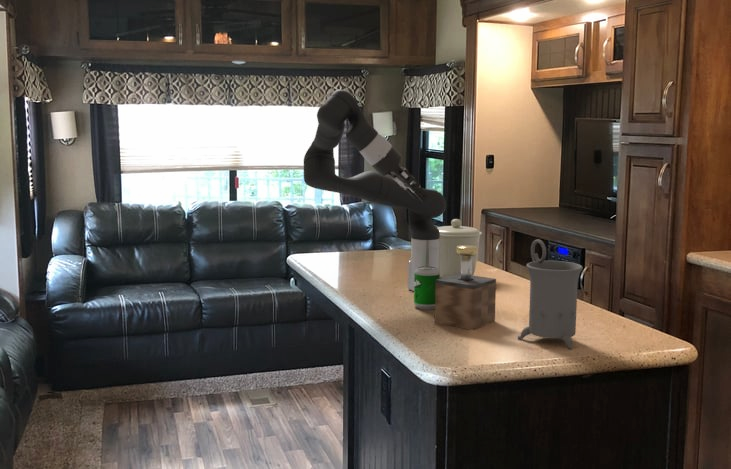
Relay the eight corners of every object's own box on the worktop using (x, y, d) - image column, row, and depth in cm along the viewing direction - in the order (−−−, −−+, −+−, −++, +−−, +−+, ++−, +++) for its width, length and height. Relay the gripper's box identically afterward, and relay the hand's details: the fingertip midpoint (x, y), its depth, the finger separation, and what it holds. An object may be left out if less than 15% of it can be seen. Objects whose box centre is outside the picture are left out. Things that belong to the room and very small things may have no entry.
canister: (422, 280, 274) (423, 220, 271) (437, 271, 290) (438, 215, 287) (473, 284, 267) (475, 223, 264) (485, 275, 284) (487, 217, 281)
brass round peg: (451, 290, 215) (452, 247, 213) (462, 287, 219) (463, 244, 218) (469, 293, 212) (470, 249, 210) (479, 289, 216) (481, 246, 214)
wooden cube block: (434, 322, 216) (435, 279, 214) (457, 314, 225) (458, 273, 224) (472, 330, 209) (474, 285, 207) (494, 321, 218) (496, 278, 216)
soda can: (441, 305, 236) (442, 266, 235) (435, 311, 229) (436, 270, 228) (417, 303, 239) (418, 264, 237) (410, 309, 232) (411, 269, 230)
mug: (596, 346, 194) (601, 246, 190) (546, 352, 188) (550, 250, 185) (552, 328, 211) (556, 236, 207) (504, 333, 206) (507, 239, 202)
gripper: (365, 163, 213) (406, 205, 216) (376, 166, 199) (420, 211, 202) (384, 143, 213) (425, 186, 217) (396, 145, 199) (440, 190, 203)
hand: (422, 198), depth 210 cm, fingers open, 7 cm apart
